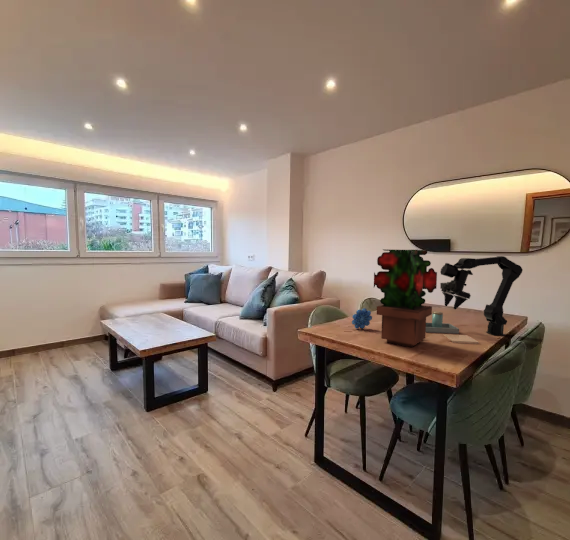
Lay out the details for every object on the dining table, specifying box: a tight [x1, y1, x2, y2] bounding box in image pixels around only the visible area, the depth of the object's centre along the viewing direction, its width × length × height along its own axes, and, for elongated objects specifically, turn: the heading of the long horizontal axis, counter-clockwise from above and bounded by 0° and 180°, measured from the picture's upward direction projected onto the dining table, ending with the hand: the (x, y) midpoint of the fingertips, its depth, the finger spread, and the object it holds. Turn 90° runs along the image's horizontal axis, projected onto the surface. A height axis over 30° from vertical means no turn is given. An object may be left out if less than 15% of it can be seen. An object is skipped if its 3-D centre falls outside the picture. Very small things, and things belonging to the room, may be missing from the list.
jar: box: [431, 310, 444, 328], centre depth 166 cm, size 5×5×10 cm
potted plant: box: [373, 248, 438, 348], centre depth 144 cm, size 22×22×45 cm
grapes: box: [351, 307, 373, 330], centre depth 170 cm, size 12×7×12 cm, turn 93°
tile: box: [442, 333, 480, 345], centre depth 150 cm, size 12×12×1 cm
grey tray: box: [426, 322, 460, 335], centre depth 166 cm, size 18×12×4 cm, turn 83°
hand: (449, 307), depth 162 cm, fingers open, 9 cm apart
